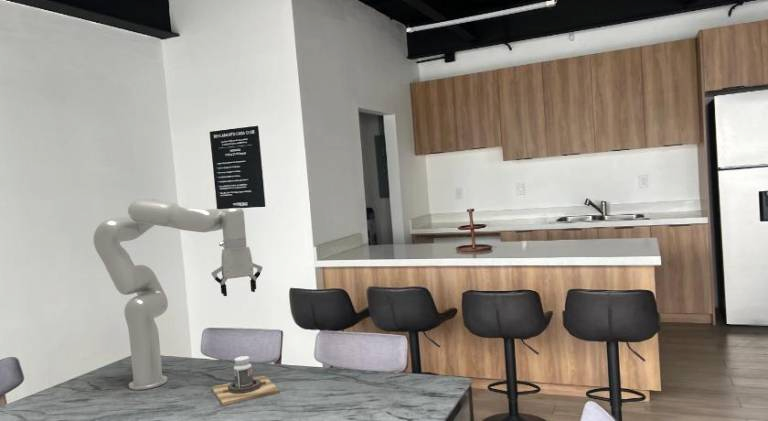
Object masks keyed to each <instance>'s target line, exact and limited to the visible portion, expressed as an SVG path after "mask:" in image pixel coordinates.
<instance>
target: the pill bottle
mask: <svg viewBox="0 0 768 421" xmlns="http://www.w3.org/2000/svg"><path fill="white" fill-rule="evenodd" d="M250 361H251V360H250V356H247V355H244V356H243V355H242V356H238V357H236V358H234V367H233V374H234V375H233V376H234V382H235V388H246V387H250V386H253V378H254V377H253V367H252V364H251V363H250Z"/></svg>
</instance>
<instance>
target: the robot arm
mask: <svg viewBox="0 0 768 421" xmlns="http://www.w3.org/2000/svg"><path fill="white" fill-rule="evenodd" d="M127 214H128V216H126V217H117V218H116V217H115V218H109V219H106V220H104V221H102V222H101V223H99V225H98V226H97V227H96V229H95V231H94V234H93V245H94V249H95V251H96V253H97V254H98V256H99V258H100V259H101V261H102V263H103V265H104V267H105V269H106V271H107V272H108V274H109V276H110V278H111V280H112V282H113V284H114V287H115V288H116V290H117V291H118V292H119V293H120V294H121V295H125V296H129V295H133V294H136V296H134V297H132V298H130V299H129V300H128V301H127V302H126V304H125V306H124V310H123V312H124V318H125V321H126V325H127V329H128V336H129V347H130V358H131V369H132V381H130V382H129V384H128V389H131V390H136V391H139V390H147V389H148V390H149V389H153V388H157V387H160V386H162V385H164V384H166V383H167V382H168V376H166V375H163V371H162V357H161V356H162V355H161V346H160V345H161V344H160V335H159V329H158V326H157V324H156V320H155V318H157V317H160V316H162V315H163V314H164V313H165V312H166V311H167V310H168V306H169V300H168V297H167V295H166V293H165V291H164V289H163V287H162V285H161V283H160V281H159V280H158V277H157V275H156V274H155V272H154V270H152V268H150V267H149V266H147V265H144V264H137V265H135V263H134V262H133V260H132V258H131V256H130V254H129V253H128V252H127V250H126V249H125V248H124V247H123V246H122V245H121V242H127V241H128V242H129V241H133V240H136V239H138V238H140V237H141V236H142V235H144V234H145V233H146V232H148V231H149V230H151V229H152V228H153V227H154V226H158V227H159V226H160V227H165V228H166V227H167V228H171V229H177V230H180V231H189V232H197V233H209V232H216V231H220V230H222V238H223V240H222V241H221V242H219V247H223V249H222V250H221V261H220V262H221V266H219V267H218V268H216V269H215V270H214V271H212V272H211V273H210V274H211V276H212V277H213V279H214V280H215V281H216V282H217V283H218V284H220V293H221V295H222V296H223V297H227V296H228V292H227V285H226V282H227V280H228V279H236V278H238V279H239V278H245V277H249V278H250V280H249V282H250V283H249V284H250V291H251V292H253V293H255V292H256V290H257V279H258V278H259V277H260V276H261V273H262V270H263V266H262V265H259V264H256V263H253V258H252V252H251V249H250V247H249V246H247V235H246V234H247V232H246V223H245V211H244V209H243V208H240V207H238V208H237V207H233V208H224V209H219V208H214V209H213V208H212V209H197V208H195V209H194V208H188V207H182V206H179V204H178V203H176V202H167V201H160V200H158V199H155V198H140V199H136V200H134V201H132V202H131V203H130V204H129V206H128V209H127ZM254 268H255V269H256V271H255V273H254ZM219 273H221V276H222V277H221V278H220V277H219V276H218V274H219Z"/></svg>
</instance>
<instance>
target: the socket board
mask: <svg viewBox="0 0 768 421" xmlns="http://www.w3.org/2000/svg"><path fill="white" fill-rule="evenodd" d="M280 391H281V390H280V388H279V387H278V386H276V385H275V383H273V382H272V381H271V380H270V379H269V378H268V377H267V376H266V375H261V376H257V377H253V386H250V387H246V388H235V381H233V382H228V383H224V384H219V385H215V386H211V392H213V394H214V395H215V397H216V399H217V400H218V401H219V403H220V404H221V406H222V407H223V406H226V405H227V406H228V405H232V404H236V403H241V402H246V401H249V400H253V399H258V398H259V399H260V398H263V397H267V396H270V395H276V394H280Z"/></svg>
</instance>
